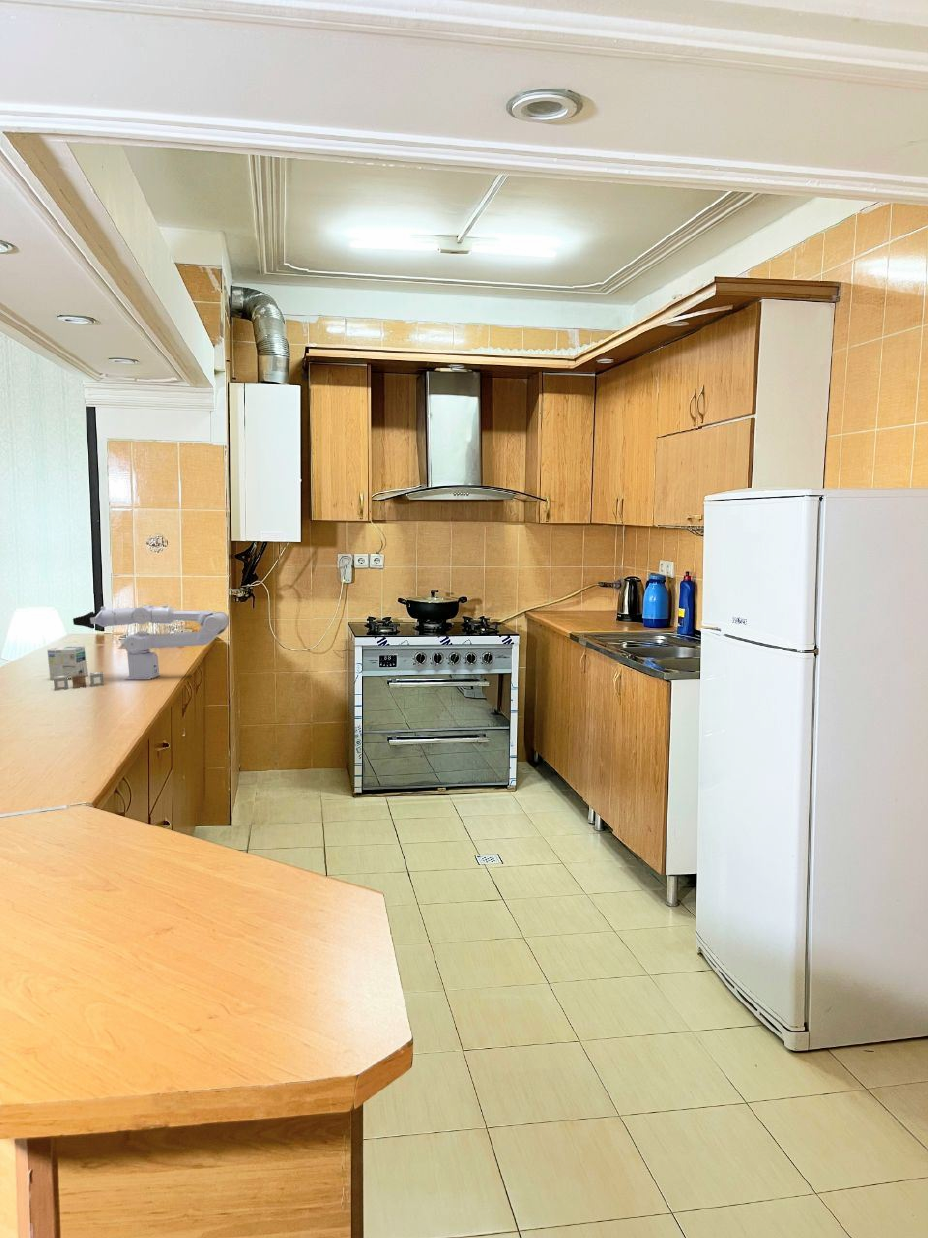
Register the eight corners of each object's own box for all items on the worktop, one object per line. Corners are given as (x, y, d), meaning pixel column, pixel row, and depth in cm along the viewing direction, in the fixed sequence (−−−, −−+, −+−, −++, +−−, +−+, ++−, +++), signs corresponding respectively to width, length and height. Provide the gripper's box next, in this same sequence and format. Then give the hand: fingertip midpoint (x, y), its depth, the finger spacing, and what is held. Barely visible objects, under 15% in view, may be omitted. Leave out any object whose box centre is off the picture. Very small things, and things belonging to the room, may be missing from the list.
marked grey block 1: (68, 687, 296) (67, 674, 296) (68, 689, 293) (67, 677, 292) (55, 688, 295) (53, 676, 294) (54, 690, 291) (53, 678, 290)
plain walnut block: (86, 685, 298) (84, 673, 298) (86, 687, 295) (85, 675, 294) (73, 686, 297) (71, 674, 296) (73, 688, 293) (72, 676, 293)
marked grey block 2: (103, 683, 301) (102, 671, 300) (104, 685, 297) (102, 673, 296) (90, 684, 299) (89, 672, 298) (91, 687, 295) (89, 674, 295)
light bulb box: (88, 675, 315) (85, 645, 314) (78, 679, 308) (75, 649, 307) (60, 676, 316) (57, 646, 315) (49, 679, 310) (46, 649, 308)
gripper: (124, 603, 312) (86, 606, 312) (107, 607, 298) (67, 610, 298) (127, 623, 313) (89, 626, 313) (109, 628, 298) (70, 631, 299)
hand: (78, 620), depth 306 cm, fingers open, 7 cm apart
